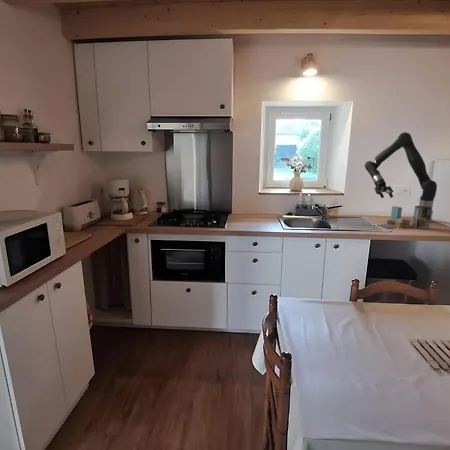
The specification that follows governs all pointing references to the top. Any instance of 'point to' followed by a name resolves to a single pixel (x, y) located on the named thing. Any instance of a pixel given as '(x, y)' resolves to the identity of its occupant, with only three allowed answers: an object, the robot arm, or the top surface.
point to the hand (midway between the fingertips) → (387, 197)
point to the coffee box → (421, 217)
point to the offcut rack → (400, 223)
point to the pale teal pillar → (396, 213)
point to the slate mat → (387, 226)
